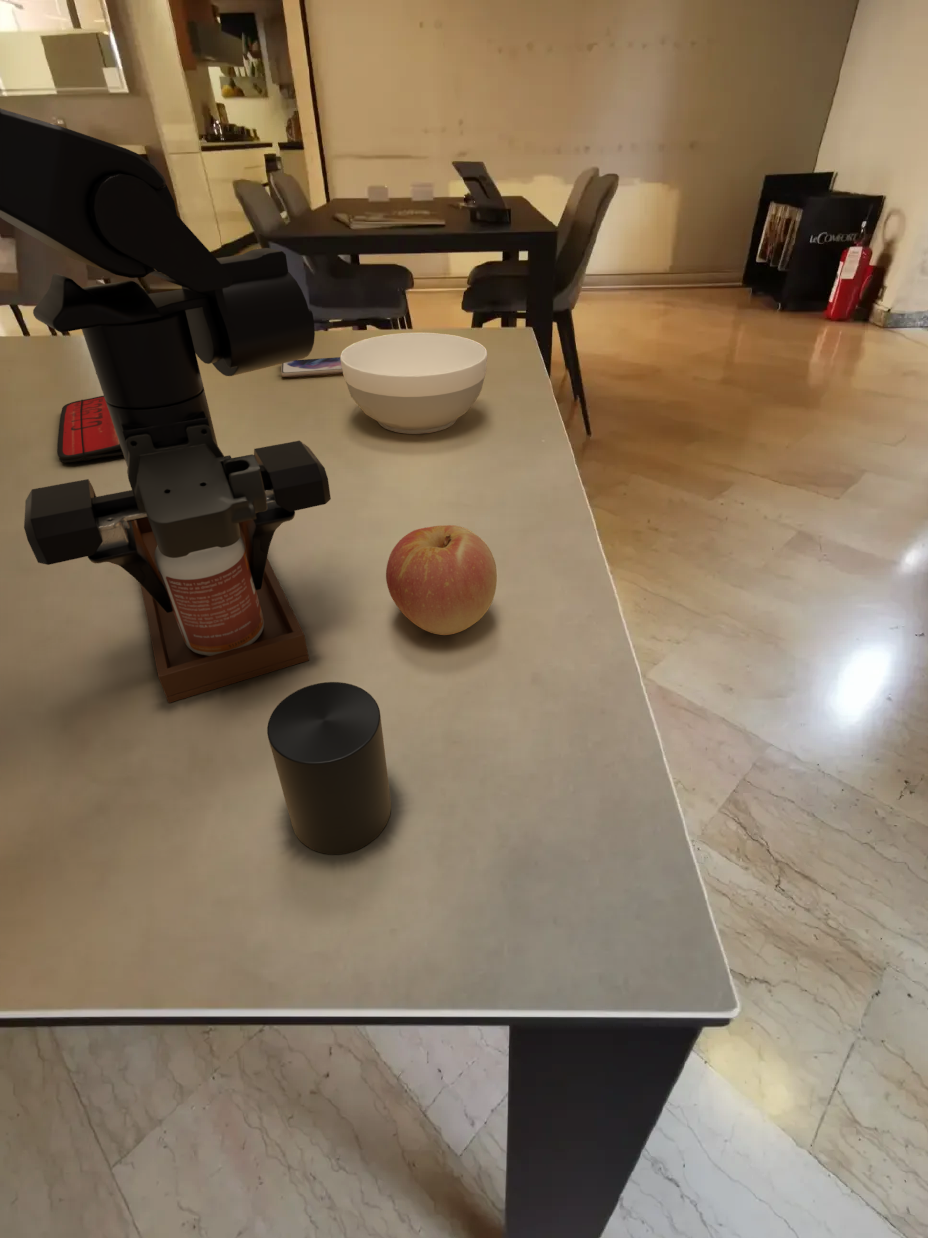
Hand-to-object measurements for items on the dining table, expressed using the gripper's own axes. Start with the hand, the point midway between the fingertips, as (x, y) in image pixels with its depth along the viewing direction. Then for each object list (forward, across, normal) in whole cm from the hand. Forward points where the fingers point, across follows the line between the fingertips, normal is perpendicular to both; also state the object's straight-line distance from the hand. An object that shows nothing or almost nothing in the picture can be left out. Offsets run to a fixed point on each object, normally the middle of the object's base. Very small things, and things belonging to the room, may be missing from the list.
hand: (214, 598), depth 51 cm
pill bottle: (+4, 0, 0) cm, 4 cm away
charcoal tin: (+4, +3, -19) cm, 20 cm away
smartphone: (+4, +28, +63) cm, 69 cm away
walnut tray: (+4, 0, +8) cm, 9 cm away
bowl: (+4, +32, +37) cm, 49 cm away
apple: (+5, +17, -5) cm, 18 cm away
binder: (+5, -3, +52) cm, 52 cm away
